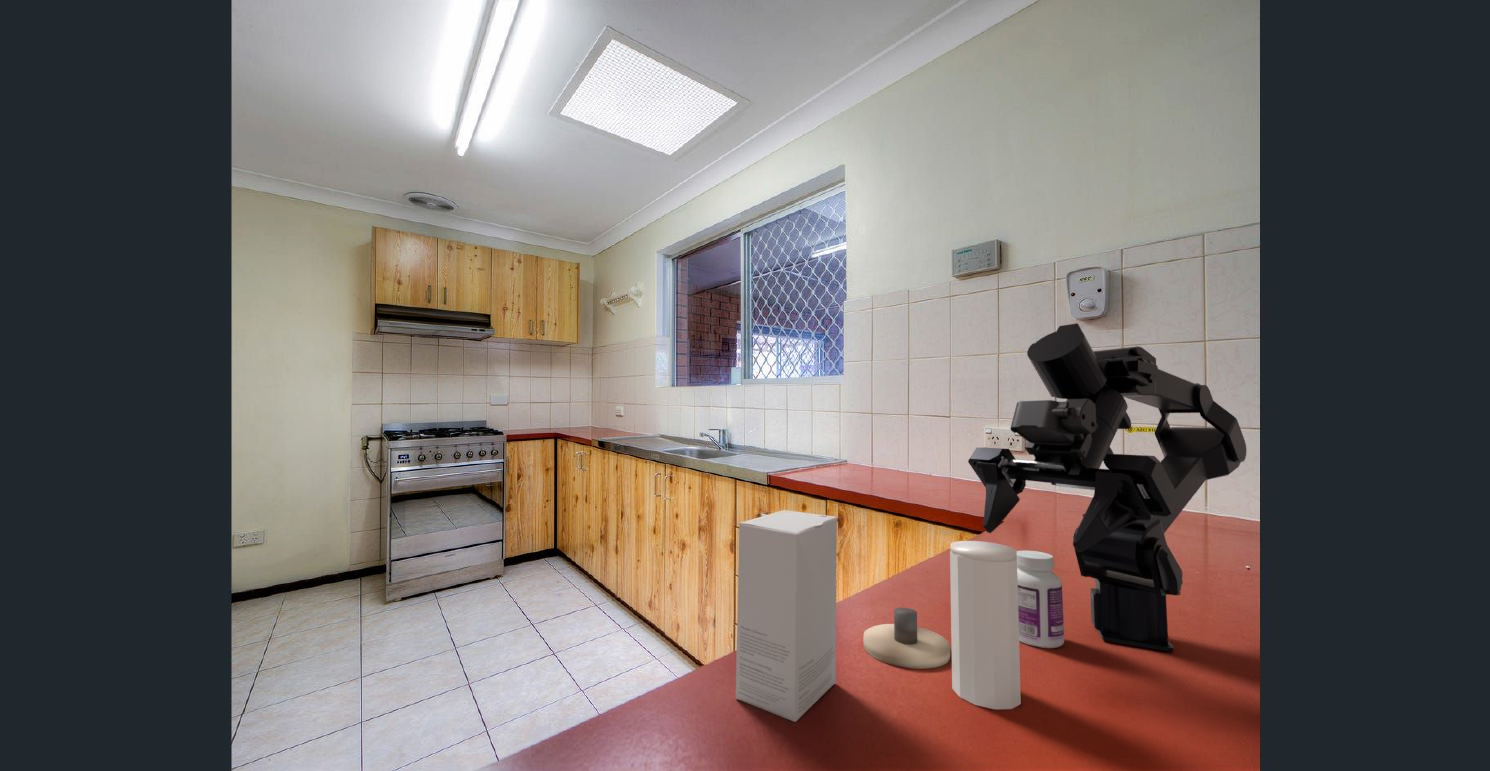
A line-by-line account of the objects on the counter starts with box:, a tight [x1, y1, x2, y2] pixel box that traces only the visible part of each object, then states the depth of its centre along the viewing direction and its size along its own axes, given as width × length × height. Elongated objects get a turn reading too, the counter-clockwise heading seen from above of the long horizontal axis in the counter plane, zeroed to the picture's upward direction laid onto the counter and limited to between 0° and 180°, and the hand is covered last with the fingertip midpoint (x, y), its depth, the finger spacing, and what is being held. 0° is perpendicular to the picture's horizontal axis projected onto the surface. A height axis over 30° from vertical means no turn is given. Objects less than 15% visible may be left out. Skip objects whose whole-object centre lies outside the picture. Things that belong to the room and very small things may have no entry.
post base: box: [863, 607, 951, 670], centre depth 56 cm, size 9×9×4 cm
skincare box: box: [735, 509, 838, 723], centre depth 47 cm, size 8×7×16 cm
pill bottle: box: [1016, 550, 1065, 649], centre depth 59 cm, size 5×5×10 cm
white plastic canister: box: [949, 540, 1022, 710], centre depth 47 cm, size 6×6×13 cm
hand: (1028, 538), depth 51 cm, fingers open, 9 cm apart
